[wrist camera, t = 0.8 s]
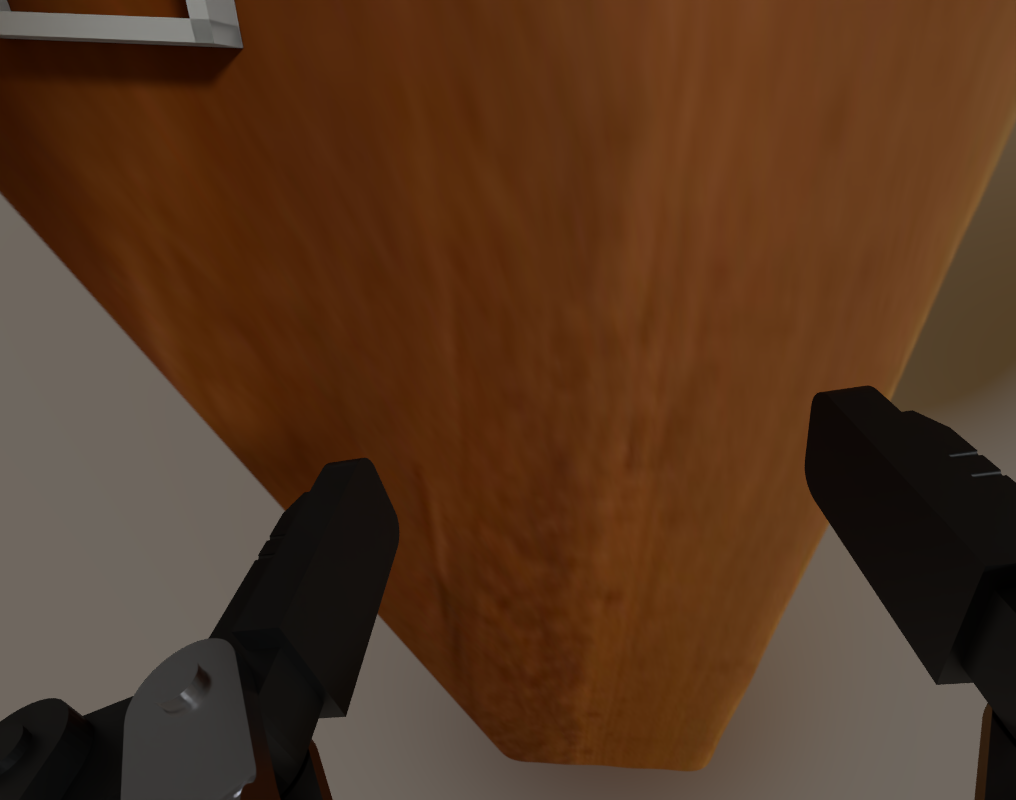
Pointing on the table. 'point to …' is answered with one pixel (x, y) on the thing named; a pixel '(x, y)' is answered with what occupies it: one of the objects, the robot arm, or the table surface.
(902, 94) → the table surface
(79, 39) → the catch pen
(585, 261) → the table surface
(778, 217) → the table surface
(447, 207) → the table surface
